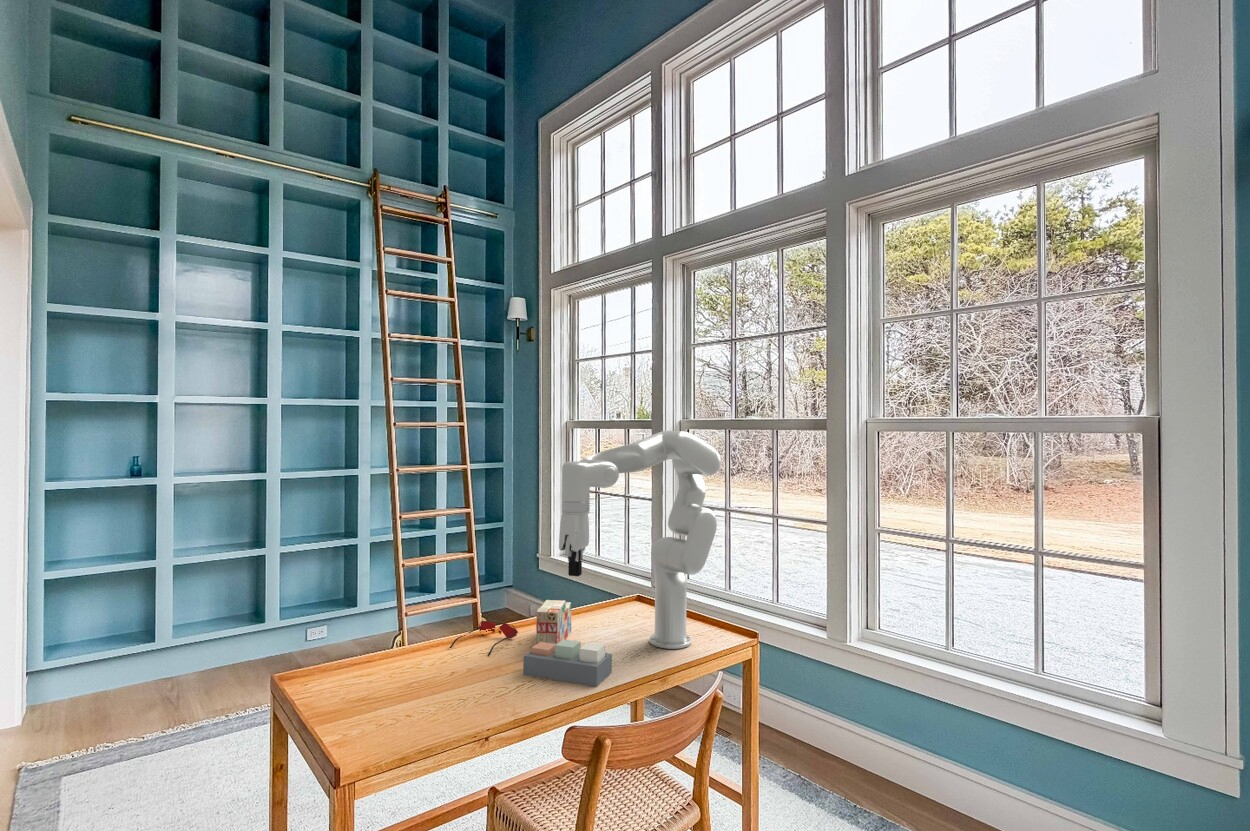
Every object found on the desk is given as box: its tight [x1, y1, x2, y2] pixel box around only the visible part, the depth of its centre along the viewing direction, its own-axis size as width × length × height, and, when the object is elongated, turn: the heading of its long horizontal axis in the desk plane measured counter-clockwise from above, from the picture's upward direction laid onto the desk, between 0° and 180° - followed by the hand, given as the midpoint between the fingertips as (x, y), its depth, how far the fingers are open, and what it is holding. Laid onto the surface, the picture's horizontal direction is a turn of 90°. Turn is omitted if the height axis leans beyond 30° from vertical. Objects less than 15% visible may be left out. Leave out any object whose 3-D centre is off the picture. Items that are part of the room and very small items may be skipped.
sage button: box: [555, 639, 582, 660], centre depth 175 cm, size 5×5×5 cm
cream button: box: [580, 642, 606, 663], centre depth 173 cm, size 5×5×5 cm
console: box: [522, 649, 613, 688], centre depth 175 cm, size 10×21×5 cm, turn 69°
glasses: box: [449, 620, 519, 657], centre depth 198 cm, size 14×16×5 cm
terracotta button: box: [531, 642, 556, 656], centre depth 178 cm, size 5×5×5 cm
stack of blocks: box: [535, 599, 572, 645], centre depth 201 cm, size 21×6×12 cm, turn 174°
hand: (575, 575), depth 179 cm, fingers closed
